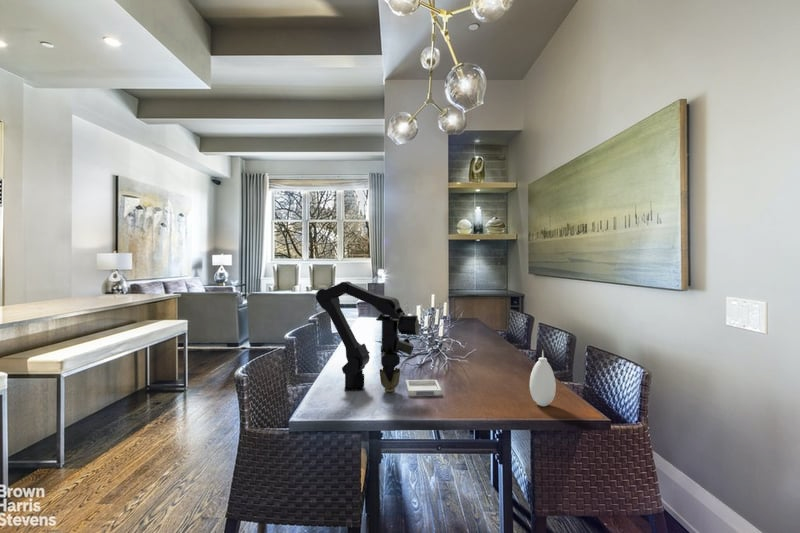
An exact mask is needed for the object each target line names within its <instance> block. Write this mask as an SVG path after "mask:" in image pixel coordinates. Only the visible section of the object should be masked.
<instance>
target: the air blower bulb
mask: <svg viewBox="0 0 800 533" xmlns="http://www.w3.org/2000/svg"><path fill="white" fill-rule="evenodd" d="M531 370H532V371H531V373H530V377H529V392H530V395H531V398H532V400H533V402H536V404H537V405H539V406H540V407H546V406H549V404H551V403H552V402H553V401H554V398H555V396H556V391H557V390H556V389H557V388H556V386H557V385H556V383H557V382H556V377H555V373H554V371H553V368H552V365H551V364H550V363H549V362H548V359H547V358H546V357H545V356H544V350H542V352H541V357H538V361H536V363H535V364H534V365H533V367H532V369H531Z"/></svg>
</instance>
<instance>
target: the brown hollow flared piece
mask: <svg viewBox="0 0 800 533" xmlns="http://www.w3.org/2000/svg"><path fill="white" fill-rule="evenodd" d="M400 376H401V369H400V368H398V367H397V366H396V367H395V368H394V373H393V377H392V381H388V379H387V376H386V374H385V371H384V369H383V368H380V369H379V378H380V383H381V386H382V387H383V388H384V392H385V393H387V394H393V393H394V392H396V388H397V387H398V386H399V383H400Z"/></svg>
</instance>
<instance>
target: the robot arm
mask: <svg viewBox="0 0 800 533" xmlns="http://www.w3.org/2000/svg"><path fill="white" fill-rule="evenodd" d="M344 295H349V296H351V297H353V298H355V299H357V300H359V301H362V302H364V303H366V304H369V305H371V306H372V307H373V308H375V310H377V311H378V312H379V313H380V314H379V316H378V317H377V318H376V319H375V320H376V321H378V322H379V321H381V346H380V361H381V362H380V363H381V366H382V369H384V371H385V374H386V376H387V379H388V381H392V377H393V373H394V370H395V368H396V367H397V366H399V364H400V363H401V362H400V361H401V357H400V354H398V353H400V352H402V353H404V354H407V355H409V356H411V355H412V354H413V351H414V348H415V345H414V344H413V343H411V342H410V339H409V338H406V337H405V338H404V339H400V338H399V333H400V334H401V335H407V336H418V335H419V333H420V327H421V325H420V321H419V319H418V318H419V317H418V315H416V314H415V315H406V313H405V312H404V310H403V309H402V307H401V305H400V301H399V299H398V298H395V297H393V296H388V295H381V294H377V293H375V292H373V291H370V290H368V289H365V288H364V287H361V286H359V285H357V284H354V283H352V282H350V281H347V280H346V281H341V282H340V283H337V284H336V285H333V286H331V287H327V288H321V289H319V290H318V291H317V292H316V295H315V300H316V302H317V303H318V305H319V307H321V309H323V310H324V311H325V312H326V313H327V314H328V315H329V318H330V319H331V322H332V323H333V326H334V328H335V329H336V332H337V333H338V336H339V337H340V339H341V341H342V344H343V346H344V348H345V358H346V361H347V362H346V363H345V364H344V365H343V366H342V367H341V372H342V374H344V376H345V377H344V388H343V389H344V391H364V390H363V389H364V387H365V374H364V372H363V371H364V369H365V367H366V365H367V364H368V363H369V361H370V357H371V356H370V351H369V350H368V348H367V345H366V344H365V343H362V344H361V343H359V342H358V341H357V339H356V337H355V335H354V333H353V332H354V331H352V329H351V327H350V325H349V323H348V321H347V319H346V317H345V315H344V313H343V311H342V309H341V303H340V302H341V300H340V297H342V296H344Z"/></svg>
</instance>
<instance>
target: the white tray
mask: <svg viewBox="0 0 800 533" xmlns="http://www.w3.org/2000/svg"><path fill="white" fill-rule="evenodd" d="M405 389H406V392H407V397H442V396H443V394H442V393H443V392H442V391H443V389H442V388H441V386H440V384H439V382H438V380H437V379H405Z"/></svg>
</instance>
